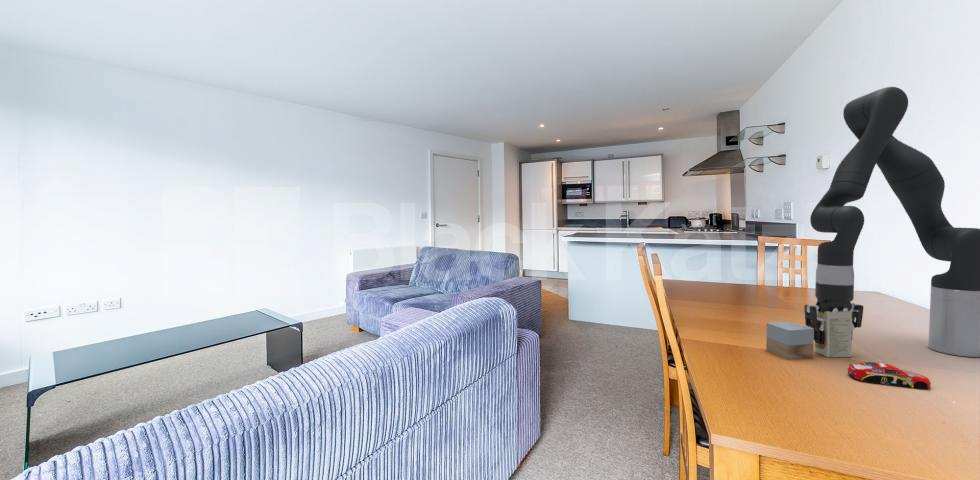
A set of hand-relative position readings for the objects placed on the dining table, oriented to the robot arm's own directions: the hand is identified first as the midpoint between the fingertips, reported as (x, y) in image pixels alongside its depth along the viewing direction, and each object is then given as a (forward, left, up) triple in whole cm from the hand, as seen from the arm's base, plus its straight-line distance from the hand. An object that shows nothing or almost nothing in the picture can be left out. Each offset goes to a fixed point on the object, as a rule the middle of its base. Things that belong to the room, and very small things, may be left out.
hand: (832, 343), depth 101 cm
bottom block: (+11, -1, -3) cm, 11 cm away
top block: (+11, -1, +1) cm, 11 cm away
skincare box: (0, 0, -3) cm, 3 cm away
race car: (+3, +17, -4) cm, 17 cm away
